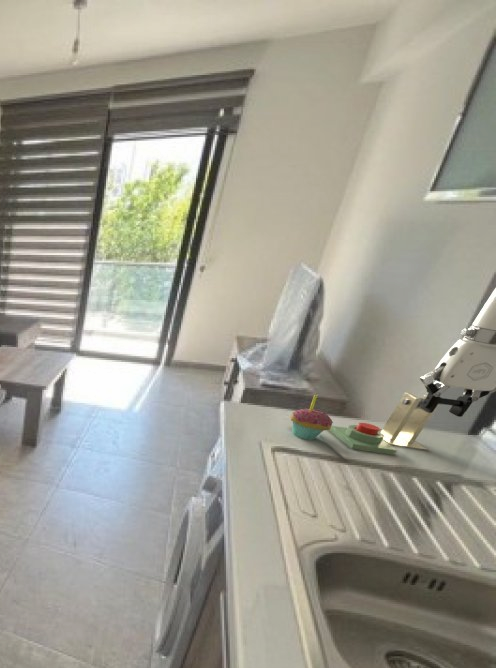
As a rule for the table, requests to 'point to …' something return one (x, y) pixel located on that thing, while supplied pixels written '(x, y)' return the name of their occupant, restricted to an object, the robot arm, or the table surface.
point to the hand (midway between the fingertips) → (440, 411)
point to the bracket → (406, 423)
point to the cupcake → (310, 422)
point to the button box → (362, 440)
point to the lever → (443, 402)
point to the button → (367, 428)
